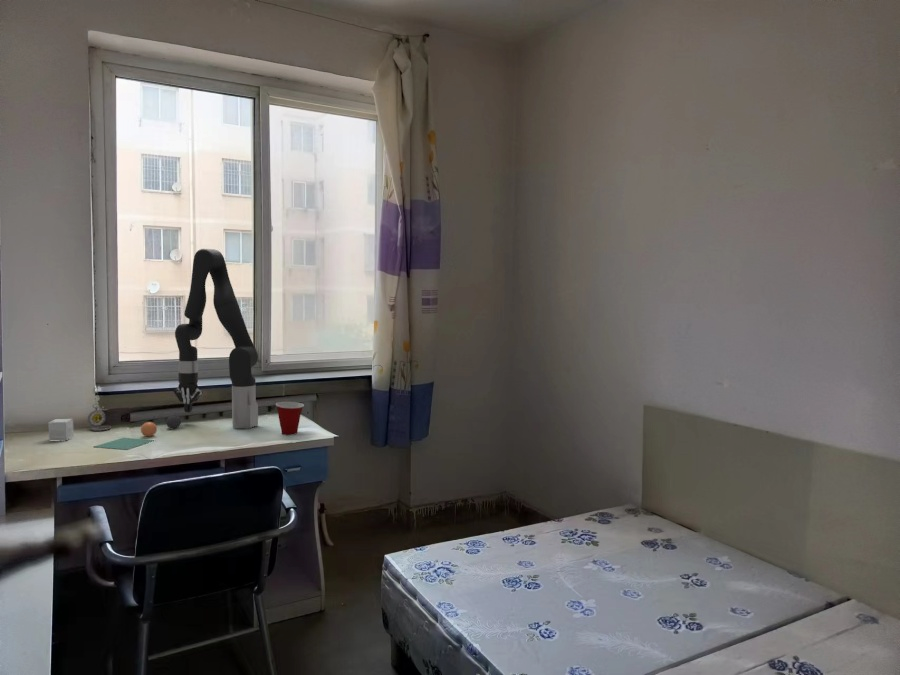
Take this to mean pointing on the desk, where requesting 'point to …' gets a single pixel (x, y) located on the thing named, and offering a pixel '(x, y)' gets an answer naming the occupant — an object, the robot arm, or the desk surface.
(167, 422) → the black ball
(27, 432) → the desk surface
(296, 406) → the plastic cup
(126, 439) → the green mark
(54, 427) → the skincare box
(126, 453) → the desk surface
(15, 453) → the desk surface
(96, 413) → the pocket watch
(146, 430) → the terracotta ball
